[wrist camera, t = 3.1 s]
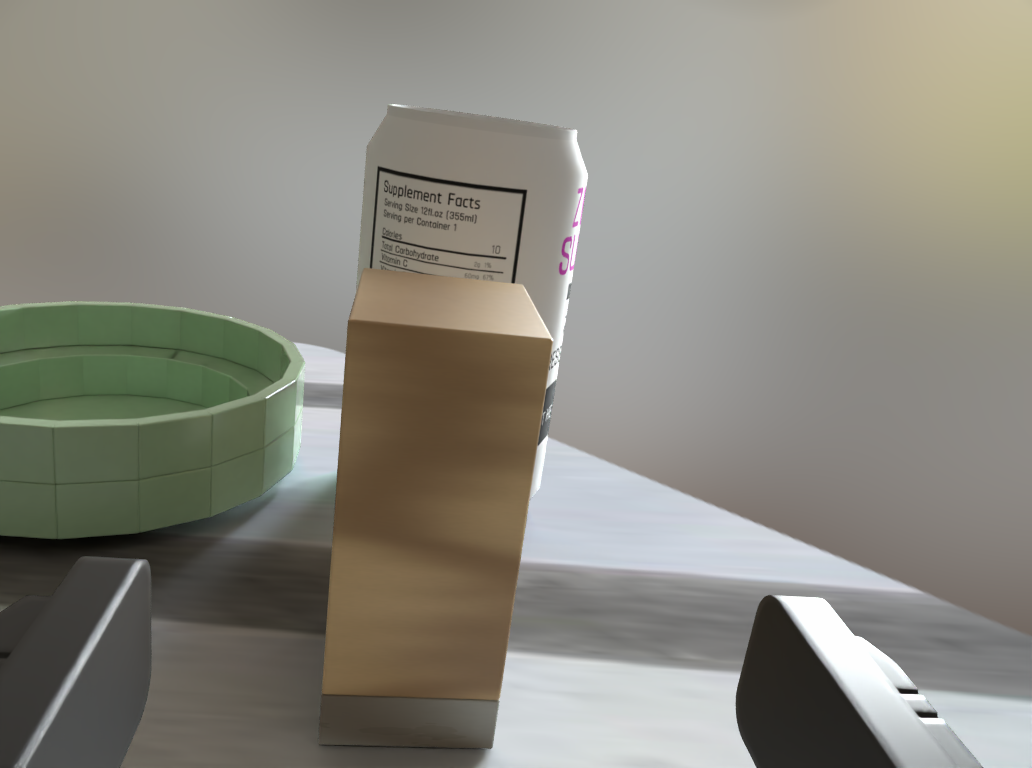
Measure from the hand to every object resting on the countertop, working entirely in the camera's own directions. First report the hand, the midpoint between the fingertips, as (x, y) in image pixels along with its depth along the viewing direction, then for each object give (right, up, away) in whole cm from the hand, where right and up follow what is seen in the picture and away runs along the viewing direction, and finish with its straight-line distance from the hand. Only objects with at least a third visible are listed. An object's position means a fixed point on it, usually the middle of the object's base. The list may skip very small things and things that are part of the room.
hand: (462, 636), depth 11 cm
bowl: (-16, 0, +23) cm, 28 cm away
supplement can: (-2, -1, +25) cm, 25 cm away
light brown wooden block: (-2, -5, +13) cm, 14 cm away
